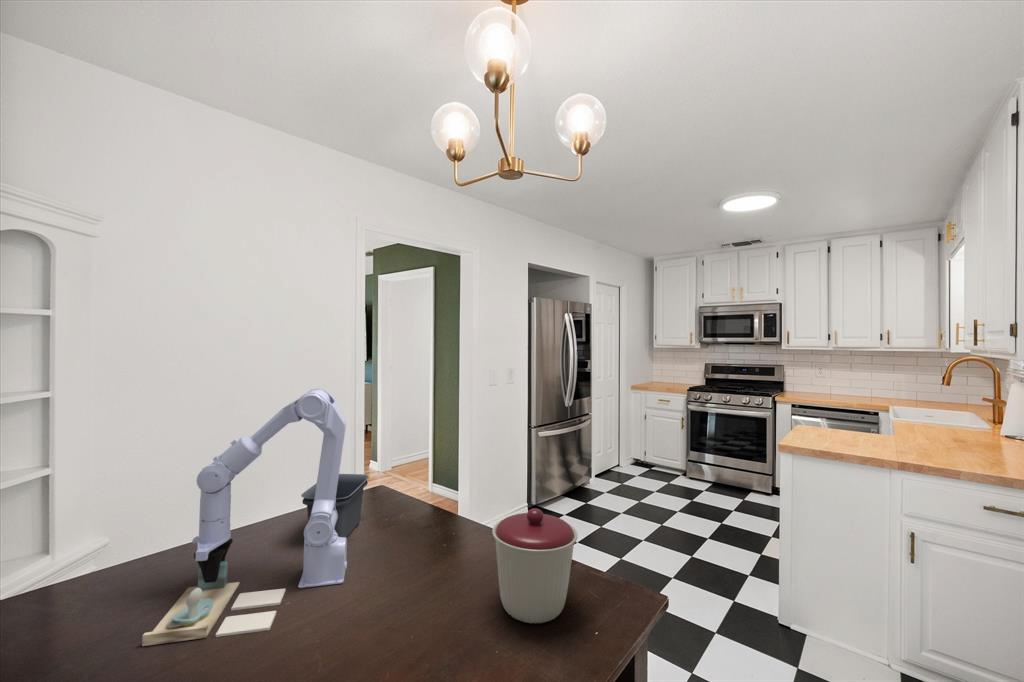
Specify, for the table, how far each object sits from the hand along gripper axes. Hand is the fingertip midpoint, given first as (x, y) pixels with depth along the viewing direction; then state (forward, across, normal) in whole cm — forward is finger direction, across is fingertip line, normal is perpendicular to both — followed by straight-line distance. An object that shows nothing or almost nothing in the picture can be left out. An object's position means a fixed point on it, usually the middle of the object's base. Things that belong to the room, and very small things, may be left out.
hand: (212, 578), depth 97 cm
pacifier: (+2, +12, 0) cm, 12 cm away
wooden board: (+2, +8, 0) cm, 9 cm away
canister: (+3, +23, +67) cm, 71 cm away
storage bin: (+3, -25, +22) cm, 33 cm away
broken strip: (+2, +11, +11) cm, 16 cm away
